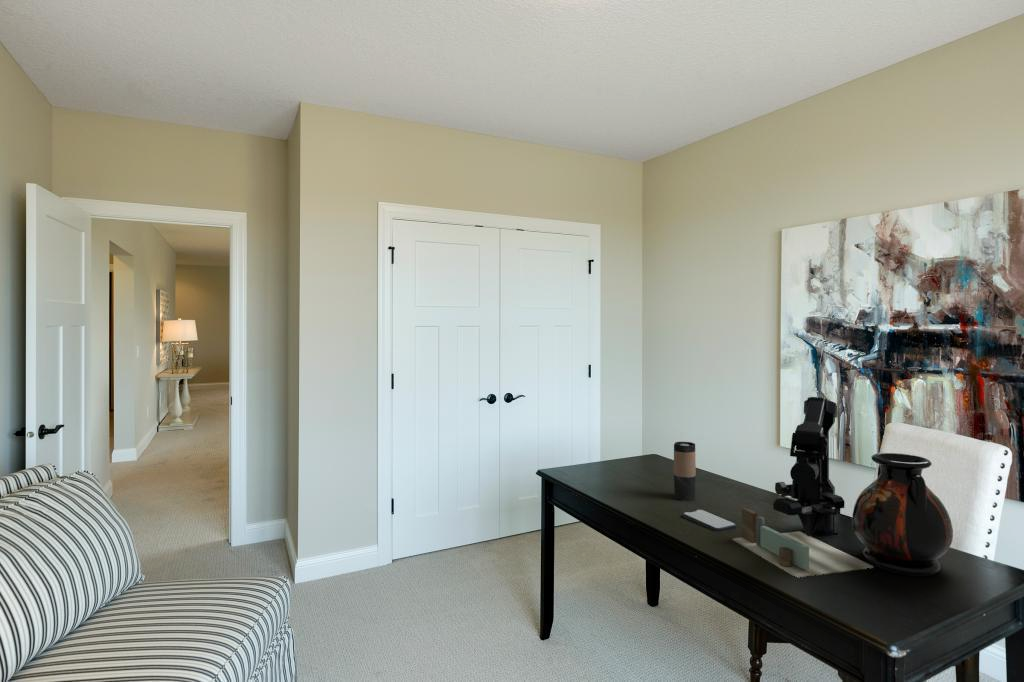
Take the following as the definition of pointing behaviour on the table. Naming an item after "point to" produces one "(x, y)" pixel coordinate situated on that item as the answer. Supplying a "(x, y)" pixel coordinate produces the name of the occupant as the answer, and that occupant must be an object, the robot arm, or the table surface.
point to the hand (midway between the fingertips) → (808, 535)
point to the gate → (781, 543)
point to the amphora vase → (902, 518)
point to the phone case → (709, 520)
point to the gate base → (820, 553)
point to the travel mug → (684, 470)
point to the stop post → (785, 557)
